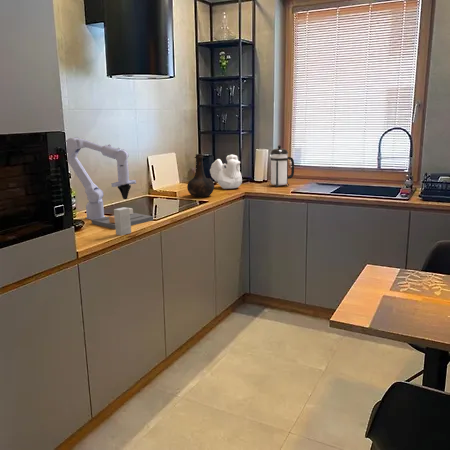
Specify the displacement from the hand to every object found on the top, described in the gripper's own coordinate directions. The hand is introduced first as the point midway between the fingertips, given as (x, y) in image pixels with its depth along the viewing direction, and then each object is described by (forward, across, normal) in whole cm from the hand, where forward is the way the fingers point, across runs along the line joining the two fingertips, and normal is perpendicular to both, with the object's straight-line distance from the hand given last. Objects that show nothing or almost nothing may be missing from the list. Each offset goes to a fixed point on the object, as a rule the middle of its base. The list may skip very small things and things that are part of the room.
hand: (125, 198), depth 245 cm
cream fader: (+8, 0, -1) cm, 8 cm away
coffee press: (+11, +137, -7) cm, 138 cm away
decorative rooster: (+11, +107, +20) cm, 109 cm away
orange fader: (+8, -15, -11) cm, 21 cm away
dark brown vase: (+11, +71, +12) cm, 73 cm away
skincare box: (+11, -22, -26) cm, 36 cm away
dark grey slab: (+10, -7, -6) cm, 14 cm away
